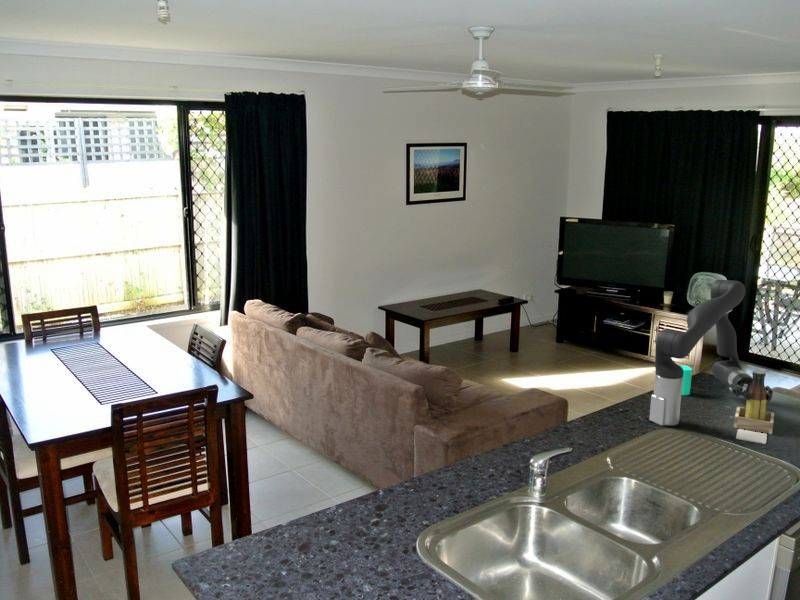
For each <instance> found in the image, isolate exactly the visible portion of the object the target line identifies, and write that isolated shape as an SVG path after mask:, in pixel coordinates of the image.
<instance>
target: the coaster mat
mask: <svg viewBox="0 0 800 600" xmlns="http://www.w3.org/2000/svg"><path fill="white" fill-rule="evenodd" d="M767 436H768V434H767V433H761V432H755V431H750V430H744V429H738V428H737V432H736V436H735V439H736V440H741V441H745V442H746V441H747V442H753V443H757V444H763V445H766V444H767Z"/></svg>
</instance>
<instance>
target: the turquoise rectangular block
mask: <svg viewBox="0 0 800 600" xmlns="http://www.w3.org/2000/svg"><path fill="white" fill-rule="evenodd" d="M679 366H680V367H682V368H683V371H684V373H683V383H682V393H681V396H689V395H691V387H692V385H691V384H692V377H693V376H692V375H693V368H691V366H688V365H686V364H684V365H679Z"/></svg>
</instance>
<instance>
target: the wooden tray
mask: <svg viewBox="0 0 800 600" xmlns="http://www.w3.org/2000/svg"><path fill="white" fill-rule="evenodd" d="M745 413H746V407H744V406H736V410H735V415H734V422H733V428H734V429H738V428H739V429H742V430H744V429H745V430H748V431H753V432H755V431H756V432H759V433H761V432H763V433H765V434H767V433H768V434H767V435H773V431H774V430H773V429H774V422H775V421H774V420H775V412H773V411H767V410H766V411H765V421H762V420H756V419H750V418H745Z"/></svg>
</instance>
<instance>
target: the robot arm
mask: <svg viewBox="0 0 800 600" xmlns="http://www.w3.org/2000/svg"><path fill="white" fill-rule="evenodd" d="M709 293H710V295H709V296H710V299H708V300H704V301H702V302H700V303H699V304H697V305H695V306H694V307H693V308H692V309H691V310H690V312H689V313H688V314H687V317H686V323H687V328H688V329H687V330H686V331H684V332H681V331H677V330H671V329H661V330H660V331H659V332H658V334H657V336H656V340H655V346H654V347H655V349H654V350H655V352H654V353H655V355H654V357H655V358H654V368H655V376H654V385H653V387H654V388H653V394H651V396H650V405H649V406H650V408H649V417H648V418H649V420H648V421H651V422H654V423H655V424H657V425H660V426H677V425H678V424H679V423H680V412H681V404H682V402H681V401H682V395H681V393H682V383H683V373H684V371H683V368H682V367H680V366H681V365H679V364H678V363H676V362H675V361H674V360H673V359H672V358H674V359H678V360H682V359H685V358H687V356H689V355H690V353H691V352H692V350H694V348H695V346H696V345H697V344H698V343H699V341H700V340H702V338H703V337H704V336H705V334H706V333H708V332H709V331H710V330H711V329H712V328H713V327H714V326H715V332H716V353H717V355H719V356H720V357H725V358H729V360H720V361H719V360H718V361H716V362H714V363H713V364H712V367H711V372H712V375H713V376H714V377H715V379H717V380H718V381H721V382H723V383H727V384H728V385H729V389H728V391H729V393H731V394H732V395H733V396H736V397H740V396H741V398H744V399H746V401H747V400H750V397H751V395H750V393H748V389H749V387H750V386H751V384H752V380H753V376H751V375H750V374H749V373H747V372H746V371H744V370H743V368H742V365H741V362H740V359H739V355H738V351H737V350H738V349H737V344H738V343H737V341H738V340H737V332H736V330H735V328H734V327H733V324H732V323H731V321H730V319H729V318H728V316H727V314H728V312H730V311H732V310H733V309H734V308H735V307H738V306H739V305H740V303H741V302H742V301H743V299H744V297H745V294H746V287H745V285H744V284H743V283H742V282H741V281H738V280H730V279H729V280H728V279H715V280H714V281H713V282H712V284H711V286H710V292H709ZM765 388H766V390H767V396H766V398H767V400H766V402H771V400H772V399H773V393H774V390H773V389H772V388H771V387H770V386H768V385H765Z"/></svg>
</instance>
